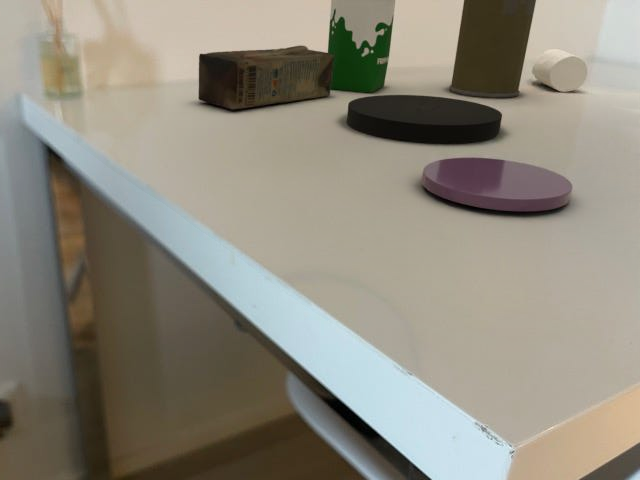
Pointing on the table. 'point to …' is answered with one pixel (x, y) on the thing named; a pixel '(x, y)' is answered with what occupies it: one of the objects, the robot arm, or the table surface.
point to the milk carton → (360, 43)
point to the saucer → (496, 184)
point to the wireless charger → (424, 119)
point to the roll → (560, 70)
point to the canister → (492, 47)
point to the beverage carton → (264, 76)
